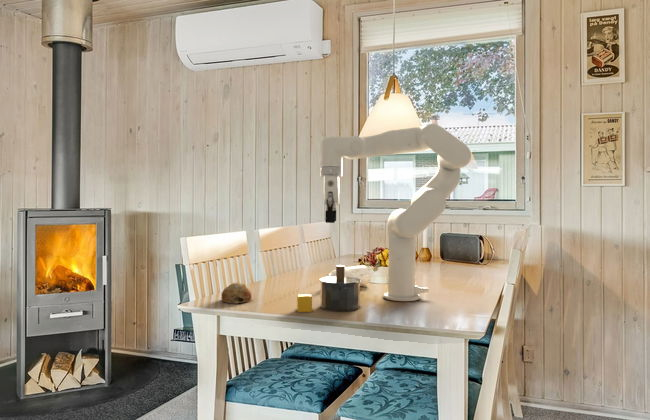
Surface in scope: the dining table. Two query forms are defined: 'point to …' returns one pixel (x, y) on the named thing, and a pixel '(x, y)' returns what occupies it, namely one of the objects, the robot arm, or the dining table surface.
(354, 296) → the pan
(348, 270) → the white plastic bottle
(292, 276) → the dining table surface
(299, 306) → the butter carton
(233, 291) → the brown rounded lump
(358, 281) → the pan lid
